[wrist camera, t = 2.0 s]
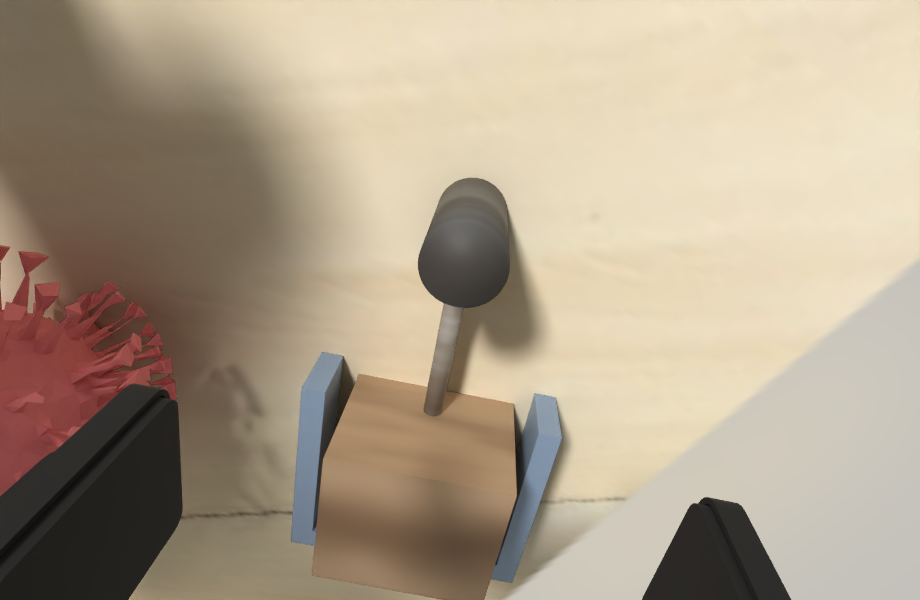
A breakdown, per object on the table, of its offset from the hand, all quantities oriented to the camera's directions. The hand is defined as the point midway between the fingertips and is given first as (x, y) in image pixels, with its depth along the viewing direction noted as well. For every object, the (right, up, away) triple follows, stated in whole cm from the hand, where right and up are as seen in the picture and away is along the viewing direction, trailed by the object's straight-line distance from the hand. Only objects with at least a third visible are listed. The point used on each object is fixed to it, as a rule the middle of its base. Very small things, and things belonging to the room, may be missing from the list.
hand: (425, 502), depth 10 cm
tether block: (0, 0, +20) cm, 20 cm away
